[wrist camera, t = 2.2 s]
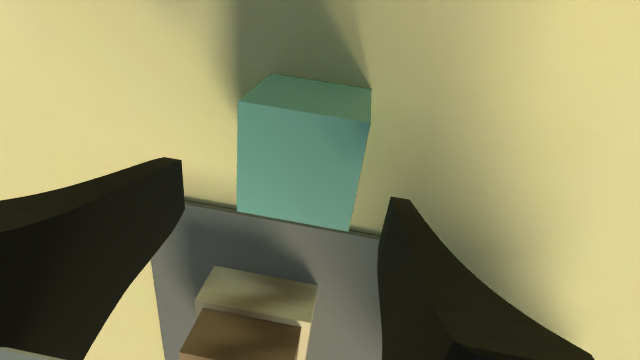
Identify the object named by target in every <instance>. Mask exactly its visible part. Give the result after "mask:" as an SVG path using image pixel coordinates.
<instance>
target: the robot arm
mask: <svg viewBox="0 0 640 360" xmlns="http://www.w3.org/2000/svg"><path fill="white" fill-rule="evenodd" d="M184 211H185V201H184V188H183V175H182V162H181V160H177V159H172V158H166V157H163V158H158V159H154V160H151V161H148V162H144V163H141V164H138V165H135V166H132V167H129V168H126V169H123V170H120V171H117V172H114V173H111V174H108V175H105V176H102V177H99V178H96V179H92V180H89V181H86V182H82V183H79V184H76V185H72V186H69V187H65V188H61V189H57V190H53V191H48V192H44V193H39V194H35V195H30V196H25V197H19V198H13V199H7V200H1V201H0V360H83V359H84V358H85V356H86V354H87V352H88V351H89V349H90V347H91V345H92V344H93V342H94V340H95V339H96V337H97V335H98V334H99V332H100V330H101V329H102V327H103V325H104V324H105V322H106V320H107V319H108V317H109V316H110V314H111V313H112V311H113V309H114V308H115V306H116V305H117V303H118V302H119V300H120V299H121V297H122V295H123V294H124V292H125V291H126V290H127V288H128V287H129V286H130V284H131V283H132V282H133V280H134V279H135V278H136V277H137V275H138V274H139V273H140V272H141V271H142V269H143V268H144V267H145V266H146V264H147V263H148V262H149V261H150V259H151V258H152V257H153V256H154V255H155V253H156V252H157V251H158V250H159V248H160V247H161V246H162V245H163V243H164V242H165V241H166V240H167V238H168V237H169V236H170V234H171V233H172V232H173V230H174V228H175V227H176V225H177V223H178V222H179V220H180V218H181V216H182V215H183V213H184ZM377 278H378V291H379V303H380V315H381V327H382V360H594V358H593V357H592V355H591V354H589V353H588V352H586V351H584V350H582V349H581V348H579V347H577V346H575V345H574V344H572V343H570V342H569V341H567V340H565V339H563V338H562V337H560V336H558V335H556V334H555V333H553V332H551V331H550V330H548V329H546V328H545V327H543V326H542V325H540V324H539V323H537V322H536V321H534V320H533V319H531V318H530V317H528V316H527V315H525V314H524V313H522V312H521V311H519V310H518V309H516V308H515V307H514V306H512V305H511V304H509V303H508V302H507V301H505V300H504V299H503V298H501V297H500V296H499V295H498V294H496V293H495V292H494V291H493V290H491V289H490V288H489V287H487V286H486V285H485V284H484V283H483V282H482V281H480V280H479V279H478V278H477V277H476V276H475V275H474V274H473V273H471V272H470V271H469V270H468V269H467V268H466V267H465V266H464V265H463V264H462V263H461V262H460V261H459V260H458V259H457V258H456V257H455V256H454V255H453V254H452V253H451V252H450V251H449V249H448V248H447V247H446V246H445V245H444V244H443V243H442V242H441V240H440V239H439V238H438V237H437V236H436V234H435V233H434V232H433V231H432V229H431V228H430V227H429V226H428V224H427V223H426V222H425V220H424V219H423V218H422V216H421V215H420V214H419V212H418V211H417V209H416V208H415V207H414V205H413V204H412V203H411V201H410V200H408V199H402V198H396V197H391V198H390V202H389V206H388V210H387V214H386V217H385V221H384V225H383V229H382V233H381V237H380V241H379V244H378V260H377Z"/></svg>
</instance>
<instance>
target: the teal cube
mask: <svg viewBox="0 0 640 360" xmlns="http://www.w3.org/2000/svg"><path fill="white" fill-rule="evenodd" d="M371 90H372V89H366V88H360V87H354V86H348V85H341V84H335V83H329V82H323V81H316V80H310V79H304V78H298V77H291V76H285V75H279V74H272V73H271V74H270V75H269V76H267V77H266V78H265V79H264V80H263V81H261V82H260V83H259V84H258V85H257V86H255V87H254V88H253V89H252V90H251V91H249V92H248V93H247V94H246V95H245V96H243V97H242V98H241V99H240V100H239V101H238V131H237V211H238V212H244V213H249V214H255V215H260V216H266V217H271V218H277V219H282V220H287V221H293V222H298V223H304V224H309V225H315V226H320V227H326V228H331V229H337V230H342V231H349V226H350V221H351V216H352V212H353V207H354V202H355V197H356V192H357V187H358V182H359V177H360V172H361V168H362V163H363V158H364V153H365V148H366V143H367V138H368V133H369V128H370V123H371Z"/></svg>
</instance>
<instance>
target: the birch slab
mask: <svg viewBox="0 0 640 360" xmlns="http://www.w3.org/2000/svg"><path fill="white" fill-rule="evenodd" d="M317 289H318V285H313V284H308V283H303V282H298V281H292V280H287V279H282V278H277V277H271V276H266V275H261V274H256V273H251V272H245V271H240V270H235V269H230V268H225V267H219V266H214V267H213V269H212V271H211V273H210V274H209V276H208V278H207V279H206V281H205V283H204V285H203V286H202V288H201V290H200V292H199V293H198V295H197V297H196V299H195V313H196V320H197V318H198V316H199V314H200V312H201V310H202V309H203V308H208V309H213V310H218V311H223V312H228V313H233V314H238V315H243V316H248V317H253V318H258V319H263V320H268V321H273V322H278V323H283V324H288V325H293V326H298V327H302V328H301V335H300V341H299V348H298V355H297V360H306V355H307V349H308V343H309V337H310V331H311V325H312V319H313V313H314V307H315V301H316V295H317Z"/></svg>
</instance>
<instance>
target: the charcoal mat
mask: <svg viewBox="0 0 640 360" xmlns="http://www.w3.org/2000/svg"><path fill="white" fill-rule="evenodd" d="M380 237H381V236H377V235H372V234H366V233H361V232H355V231H350V230H349V231H342V230H337V229H331V228H326V227H320V226H315V225H309V224H304V223H298V222H293V221H287V220H282V219H277V218H271V217H266V216H260V215H255V214H249V213H244V212H238V211H237V210H234V209H228V208H223V207H217V206H212V205H206V204H201V203H195V202H190V201H185V211H184V213H183V215H182V216H181V218H180V220H179V222H178V223H177V225H176V227H175V228H174V230H173V232H172V233H171V234H170V236H169V237H168V238H167V240H166V241H165V242H164V243H163V245H162V246H161V247H160V248H159V250H158V251H157V252H156V253H155V255H154V256H153V257H152V258H151V265H152V272H153V279H154V286H155V293H156V300H157V307H158V314H159V321H160V328H161V335H162V342H163V349H164V356H165V360H180V356H179V351H180V350H181V348H182V346H183V344H184V342H185V340H186V338H187V337H188V335H189V333H190V331H191V329H192V327H193V325H194V324H195V322H196V313H195V299H196V297H197V295H198V293H199V292H200V290H201V288H202V286H203V285H204V283H205V281H206V279H207V278H208V276H209V274H210V273H211V271H212V269H213V267H214V266H219V267H225V268H230V269H235V270H240V271H245V272H251V273H256V274H261V275H266V276H271V277H277V278H282V279H287V280H292V281H298V282H303V283H308V284H313V285H318V289H317V295H316V301H315V307H314V313H313V319H312V325H311V331H310V337H309V343H308V349H307V355H306V360H382V327H381V315H380V303H379V291H378V278H377V260H378V244H379V241H380Z"/></svg>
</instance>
